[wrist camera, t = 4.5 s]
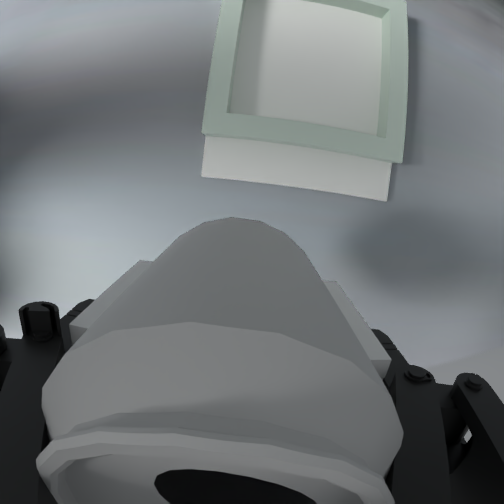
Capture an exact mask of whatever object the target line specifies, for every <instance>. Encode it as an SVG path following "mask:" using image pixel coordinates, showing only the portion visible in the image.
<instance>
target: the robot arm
mask: <svg viewBox="0 0 504 504" xmlns="http://www.w3.org/2000/svg"><path fill="white" fill-rule="evenodd" d="M151 263H153V262H152V261H144V260H140V261H138V262H137V263H136V264H135V265H134V266H133V267H132V268H130V269H129V270H128V271H127V272H126V273H125V274H124V275H122V276H121V277H120V278H119V279H118V280H117V281H116V282H114V283H113V284H112V285H111V286H110V287H109V288H108V289H107V290H106V291H104V292H103V293H102V294H101V295H100V296H99V297H98V298H97V299H96V300H93V299H88V300H85V301H83V302H80V303H78V304H77V305H76V306H75V307H74V308H73V309H72V310H70V311H69V312H68V313H67V315H65V316H64V317H62V318H61V319H60V317H59V309H58V307H57V306H56V305H55V304H53V303H50V302H43V301H42V302H33V303H29V304H26V305H24V306H22V307H21V308H20V309H19V316H20V321H21V326H22V331H23V337H22V339H13V338H6V337H5V332H4V328H3V327H2V326H1V325H0V504H58V503H57V501H56V500H55V498H54V497H53V495H52V494H51V492H50V491H49V489H48V488H47V486H46V484H45V483H44V481H43V480H42V478H41V476H40V474H39V471H38V469H37V465H36V459H37V457H38V456H39V454H40V453H41V452H42V451H43V450H44V449H45V448H46V447H47V446H48V444H49V438H48V433H47V427H46V421H45V416H44V413H43V410H42V387H43V386H44V384H45V383H46V381H47V380H48V378H49V377H50V375H51V374H52V372H53V371H54V369H55V368H56V366H57V365H58V363H59V362H60V360H61V359H62V357H63V356H64V355H65V354H66V352H67V351H68V350H69V349H70V348H71V347H72V346H73V345H74V344H75V342H76V341H77V340H78V339H79V338H80V337H81V336H82V335H83V334H84V333H85V332H86V330H87V329H88V328H89V327H90V326H91V325H92V324H93V323H94V322H95V321H96V320H97V319H98V318H99V317H100V316H101V314H102V313H103V312H104V311H105V310H106V309H107V308H108V307H109V306H110V305H111V304H112V303H113V302H114V301H115V300H116V299H117V298H118V297H119V296H120V295H121V294H122V293H123V292H124V291H125V290H126V289H127V288H128V287H129V285H130V284H131V283H132V282H133V281H134V280H135V279H136V278H137V277H138V276H139V275H140V274H141V273H142V272H143V271H144V270H145V269H146V268H147V267H148V266H149V265H150V264H151ZM322 281H323V282H324V284H325V286H326V287H327V289H328V290H329V292H330V294H331V295H332V297H333V299H334V300H335V302H336V303H337V305H338V307H339V308H340V310H341V312H342V313H343V315H344V317H345V318H346V320H347V322H348V323H349V325H350V326H351V328H352V330H353V332H354V333H355V335H356V337H357V338H358V340H359V342H360V343H361V345H362V347H363V348H364V350H365V352H366V353H367V355H368V357H369V359H370V360H371V362H372V364H373V366H374V367H375V369H376V371H377V372H378V374H379V376H380V378H381V379H382V381H383V383H384V385H385V386H386V388H387V390H388V392H389V394H390V395H391V398H392V400H393V403H394V406H395V409H396V412H397V414H398V417H399V420H400V423H401V426H402V429H403V432H404V434H403V439H402V444H401V447H400V449H399V450H398V452H397V454H396V456H395V457H394V460H393V463H392V465H391V468H390V470H389V473H388V475H387V477H386V480H385V483H386V485H387V487H388V489H389V491H390V493H391V494H392V496H393V498H394V501H395V504H504V404H503V403H502V401H501V400H500V399H499V397H498V396H497V394H496V393H495V392H494V390H493V389H492V388H491V386H490V385H489V384H488V383H487V382H486V381H485V380H484V379H483V378H481V377H480V376H479V375H475V374H473V373H462V374H459V375H458V376H457V378H456V380H455V382H454V384H453V385H446V384H438V383H436V382H435V379H434V377H433V375H432V374H431V373H430V372H428V371H427V370H425V369H423V368H422V367H418V366H415V365H409V364H408V362H407V361H406V360H405V358H404V357H403V356H402V354H401V353H400V352H399V350H397V348H396V346H395V345H394V344H393V342H392V341H391V340H390V338H389V337H388V336H387V335H386V334H384V333H383V332H381V331H380V330H378V329H370V328H369V326H368V325H367V323H366V322H365V320H364V319H363V318H362V316H361V315H360V313H359V312H358V311H357V309H356V308H355V306H354V305H353V304H352V302H351V301H350V299H349V298H348V297H347V295H346V294H345V292H344V291H343V290H342V288H341V287H340V286H339V284H338V283H337V282H336V281H325V280H322ZM468 429H469V430H470V431H471V434H472V437H471V438H470V440H469V441H468V442H466V441H465V440H464V436H465V434H466V432H467V431H468Z"/></svg>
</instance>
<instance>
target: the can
mask: <svg viewBox="0 0 504 504" xmlns="http://www.w3.org/2000/svg"><path fill="white" fill-rule="evenodd" d="M42 410H43V413H44V416H45V421H46V427H47V433H48V438H49V444H48V446H47V447H46V448H45V449H44V450H43V451H42V452H41V453H40V454H39V456H38V457H37V459H36V465H37V469H38V471H39V474H40V476H41V478H42V480H43V481H44V483H45V484H46V486H47V488H48V489H49V491H50V492H51V494H52V495H53V497H54V498H55V500H56V501H57V503H58V504H395V501H394V498H393V496H392V494H391V493H390V491H389V489H388V487H387V485H386V483H385V480H386V477H387V475H388V473H389V470H390V468H391V465H392V463H393V460H394V457H395V456H396V454H397V452H398V450H399V449H400V447H401V444H402V439H403V434H404V432H403V429H402V426H401V423H400V420H399V417H398V414H397V412H396V409H395V406H394V403H393V400H392V398H391V395H390V394H389V392H388V390H387V388H386V386H385V385H384V383H383V381H382V379H381V378H380V376H379V374H378V372H377V371H376V369H375V367H374V366H373V364H372V362H371V360H370V359H369V357H368V355H367V353H366V352H365V350H364V348H363V347H362V345H361V343H360V342H359V340H358V338H357V337H356V335H355V333H354V332H353V330H352V328H351V326H350V325H349V323H348V322H347V320H346V318H345V317H344V315H343V313H342V312H341V310H340V308H339V307H338V305H337V303H336V302H335V300H334V299H333V297H332V295H331V294H330V292H329V290H328V289H327V287H326V286H325V284H324V282H323V281H322V279H321V278H320V276H319V274H318V273H317V271H316V270H315V268H314V266H313V265H312V263H311V262H310V260H309V259H308V257H307V255H306V254H305V252H304V251H303V250H302V249H301V248H300V247H299V246H298V245H297V244H296V243H295V242H294V241H293V240H292V239H291V238H289V237H288V236H287V235H286V234H285V233H284V232H282V231H279V230H277V229H275V228H273V227H271V226H269V225H267V224H265V223H263V222H261V221H256V220H249V219H241V218H234V217H230V218H225V219H219V220H214V221H209V222H204V223H202V224H200V225H198V226H197V227H195V228H193V229H191V230H189V231H188V232H186V233H184V234H182V235H180V236H179V237H178V238H177V239H176V240H175V241H174V242H173V243H172V244H171V245H170V246H169V247H168V248H167V249H166V250H165V251H164V252H163V253H162V254H161V255H160V256H159V257H158V258H157V259H156V260H155V261H154V262H153V263H151V264H150V265H149V266H148V267H147V268H146V269H145V270H144V271H143V272H142V273H141V274H140V275H139V276H138V277H137V278H136V279H135V280H134V281H133V282H132V283H131V284H130V285H129V287H128V288H127V289H126V290H125V291H124V292H123V293H122V294H121V295H120V296H119V297H118V298H117V299H116V300H115V301H114V302H113V303H112V304H111V305H110V306H109V307H108V308H107V309H106V310H105V311H104V312H103V313H102V314H101V316H100V317H99V318H98V319H97V320H96V321H95V322H94V323H93V324H92V325H91V326H90V327H89V328H88V329H87V330H86V332H85V333H84V334H83V335H82V336H81V337H80V338H79V339H78V340H77V341H76V342H75V344H74V345H73V346H72V347H71V348H70V349H69V350H68V351H67V352H66V354H65V355H64V356H63V357H62V359H61V360H60V362H59V363H58V365H57V366H56V368H55V369H54V371H53V372H52V374H51V375H50V377H49V378H48V380H47V381H46V383H45V384H44V386H43V387H42Z"/></svg>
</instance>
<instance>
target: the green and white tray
mask: <svg viewBox="0 0 504 504" xmlns="http://www.w3.org/2000/svg"><path fill="white" fill-rule="evenodd" d="M407 97H408V23H407V5H406V1H403V0H222V3H221V8H220V13H219V19H218V24H217V30H216V36H215V41H214V47H213V53H212V60H211V66H210V72H209V79H208V86H207V93H206V100H205V107H204V115H203V123H202V131H201V133H202V134H203V135H205V136H206V137H205V146H204V155H203V164H202V173H201V177H209V178H220V179H230V180H240V181H249V182H257V183H266V184H274V185H282V186H290V187H297V188H304V189H311V190H318V191H325V192H332V193H338V194H344V195H350V196H356V197H362V198H368V199H374V200H379V201H385V202H387V196H388V189H389V182H390V174H391V166H392V163H402V161H403V151H404V141H405V129H406V115H407Z"/></svg>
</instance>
